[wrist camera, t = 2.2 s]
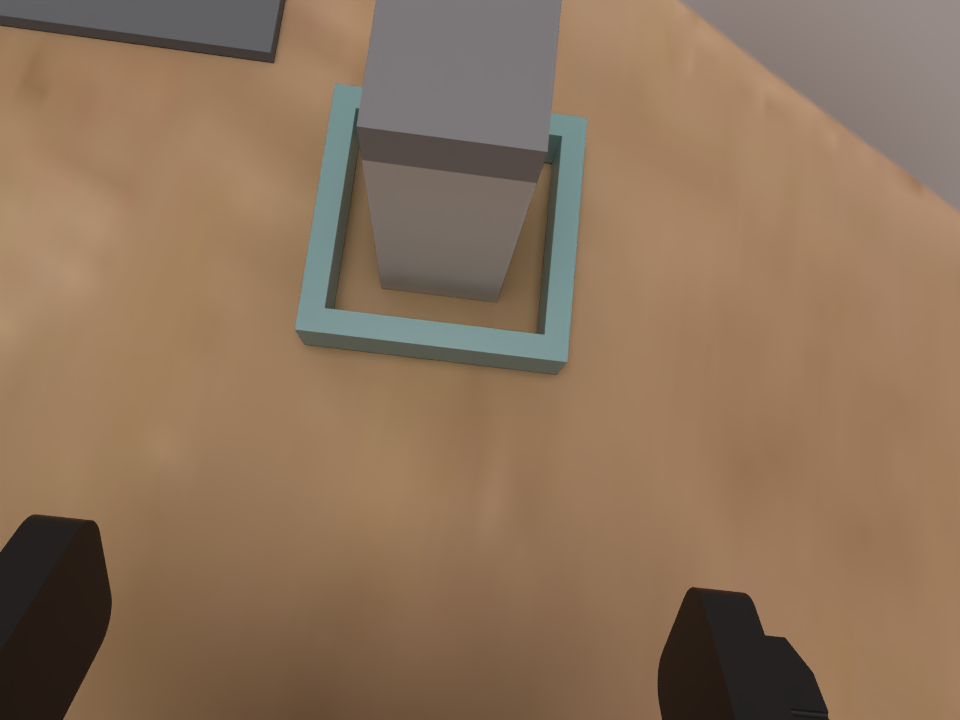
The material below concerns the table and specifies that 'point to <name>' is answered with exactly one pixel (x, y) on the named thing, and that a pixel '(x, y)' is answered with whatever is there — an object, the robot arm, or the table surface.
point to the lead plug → (454, 137)
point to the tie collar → (431, 337)
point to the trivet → (159, 23)
